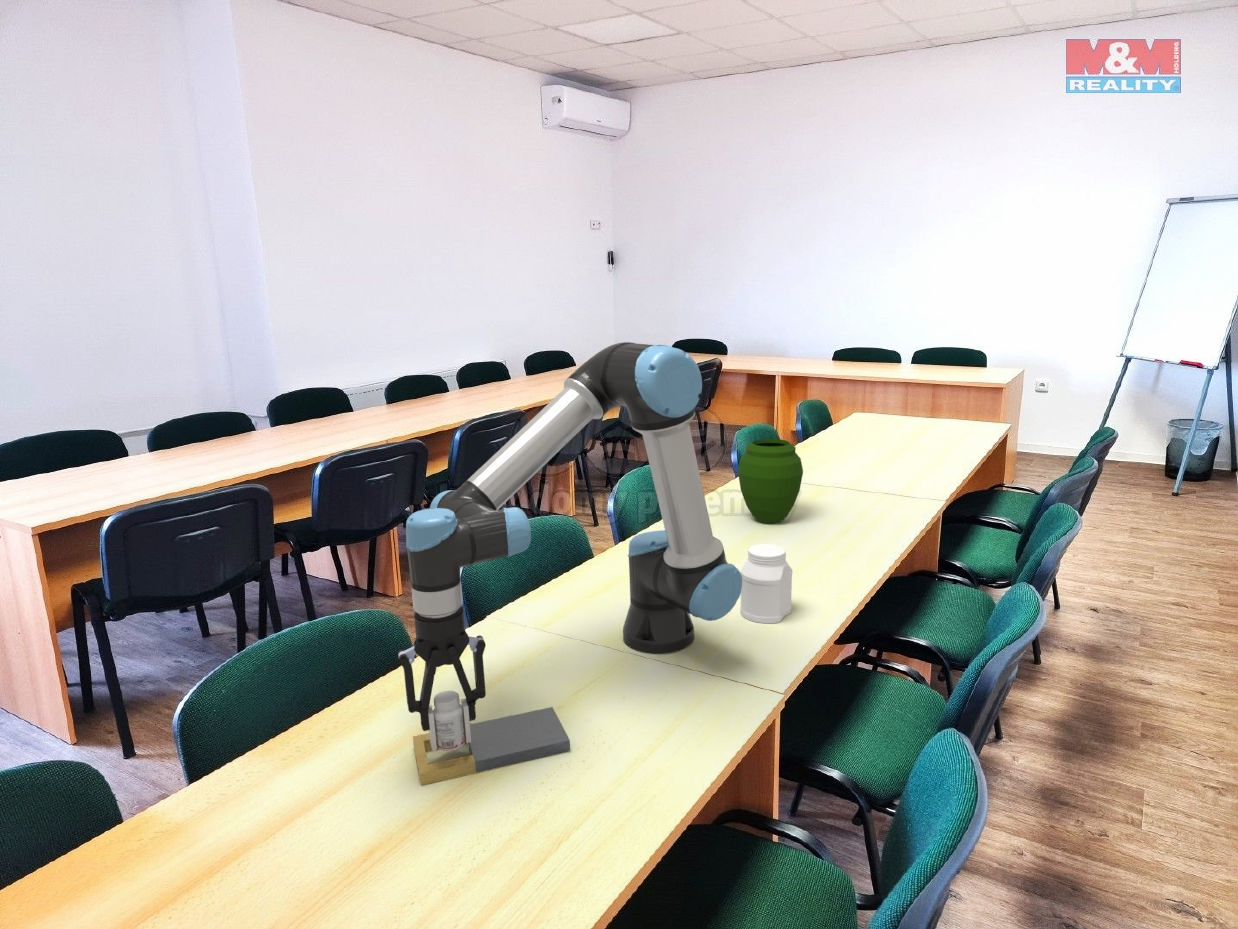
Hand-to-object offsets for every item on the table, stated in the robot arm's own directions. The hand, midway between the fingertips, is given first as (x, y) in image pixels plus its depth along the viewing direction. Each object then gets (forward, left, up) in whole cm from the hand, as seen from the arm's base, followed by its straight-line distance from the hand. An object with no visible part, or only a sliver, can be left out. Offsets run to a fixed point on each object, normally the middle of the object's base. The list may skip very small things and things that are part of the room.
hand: (450, 741), depth 129 cm
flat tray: (-6, 0, -3) cm, 7 cm away
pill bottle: (0, 0, -1) cm, 1 cm away
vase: (-109, -88, -3) cm, 140 cm away
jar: (-74, -29, -3) cm, 80 cm away
